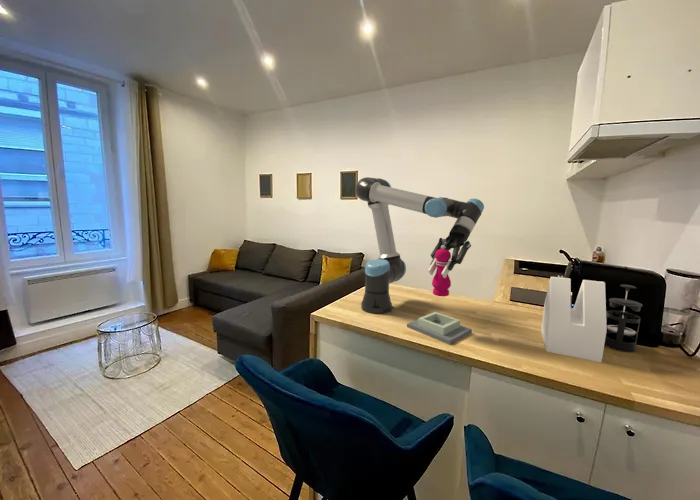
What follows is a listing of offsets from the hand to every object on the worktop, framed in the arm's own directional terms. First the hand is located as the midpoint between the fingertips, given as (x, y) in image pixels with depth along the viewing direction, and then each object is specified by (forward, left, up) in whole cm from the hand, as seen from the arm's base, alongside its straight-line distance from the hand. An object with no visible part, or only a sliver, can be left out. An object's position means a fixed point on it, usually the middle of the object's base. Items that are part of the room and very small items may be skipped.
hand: (436, 274), depth 117 cm
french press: (+50, +44, -24) cm, 71 cm away
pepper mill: (0, +4, -9) cm, 10 cm away
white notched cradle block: (+38, +30, -24) cm, 54 cm away
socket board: (0, +4, -24) cm, 24 cm away
